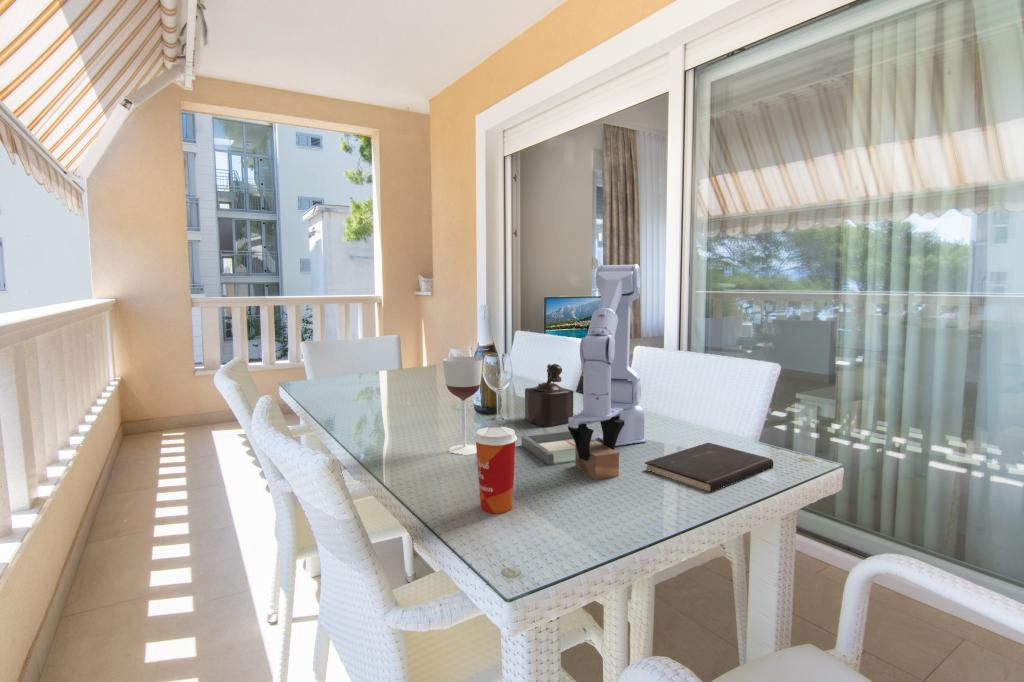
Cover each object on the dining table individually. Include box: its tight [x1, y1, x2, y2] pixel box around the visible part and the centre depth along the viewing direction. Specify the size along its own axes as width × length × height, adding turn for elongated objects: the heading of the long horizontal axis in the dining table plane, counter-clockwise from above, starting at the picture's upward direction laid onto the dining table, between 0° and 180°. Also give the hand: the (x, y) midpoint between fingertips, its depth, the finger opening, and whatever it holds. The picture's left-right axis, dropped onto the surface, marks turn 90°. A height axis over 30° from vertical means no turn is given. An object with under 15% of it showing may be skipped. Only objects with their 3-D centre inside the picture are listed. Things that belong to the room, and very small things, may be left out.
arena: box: [521, 429, 575, 466], centre depth 132 cm, size 16×16×2 cm
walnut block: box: [574, 440, 620, 481], centre depth 118 cm, size 9×5×5 cm, turn 21°
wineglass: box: [442, 356, 483, 456], centre depth 132 cm, size 9×10×22 cm
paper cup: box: [473, 426, 518, 515], centre depth 99 cm, size 8×8×14 cm
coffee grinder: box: [524, 363, 574, 428], centre depth 156 cm, size 16×11×18 cm
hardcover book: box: [644, 442, 774, 493], centre depth 119 cm, size 16×23×2 cm
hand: (596, 455), depth 117 cm, fingers open, 7 cm apart
